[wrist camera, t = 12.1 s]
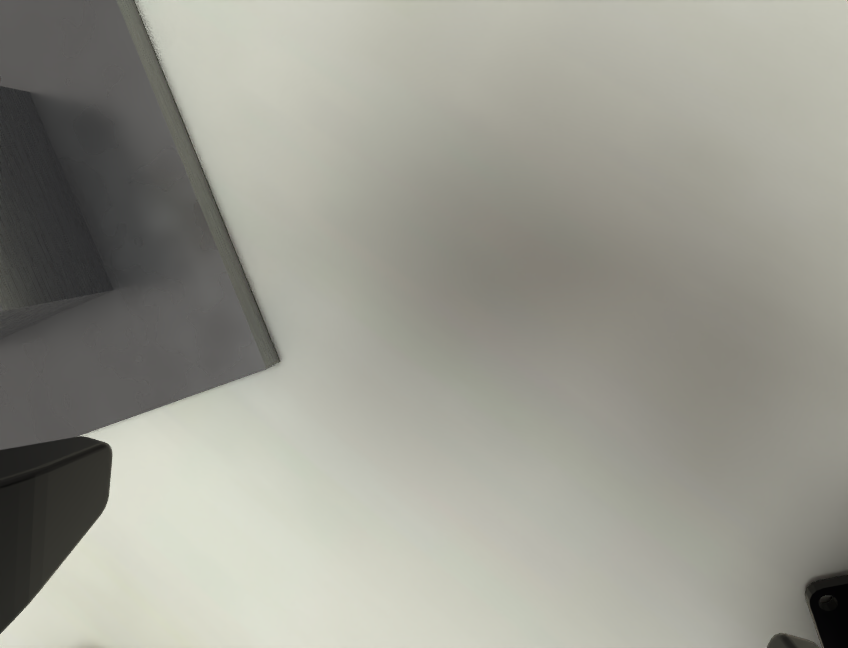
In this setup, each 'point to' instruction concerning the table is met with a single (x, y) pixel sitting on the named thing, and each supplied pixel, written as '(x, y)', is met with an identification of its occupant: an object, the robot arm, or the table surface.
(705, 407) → the table surface
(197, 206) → the stand
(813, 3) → the table surface
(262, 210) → the table surface
